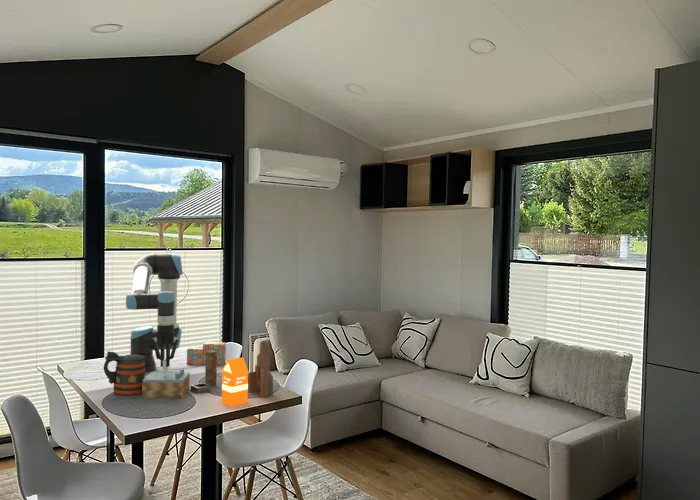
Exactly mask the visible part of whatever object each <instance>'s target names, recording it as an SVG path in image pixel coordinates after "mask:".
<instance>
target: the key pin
mask: <svg viewBox="0 0 700 500" xmlns="http://www.w3.org/2000/svg"><path fill="white" fill-rule="evenodd" d="M217 366H218V365H217V352H216V351H214V350H212V351H206V365H205V371H204V372H205V376H204V377H205V379H204V380H205V382H204V383H206V384H208V385H211V387H213V386H217V376H218V375H217V372H218V371H217V369H218V367H217Z"/></svg>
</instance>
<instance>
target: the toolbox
mask: <svg viewBox="0 0 700 500" xmlns="http://www.w3.org/2000/svg"><path fill="white" fill-rule="evenodd" d="M189 390H190V375H189V376H188V377H187V378H186V379H185V380H184V382H183V383H150V382H143V383H142V393H141V395H142V396H141V397H142V398H143V399H146V398H147V399H152V398H153V399H159V398H160V399H183V398H184V396H185V395H186V393H188V391H189ZM166 397H167V398H166Z"/></svg>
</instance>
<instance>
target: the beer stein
mask: <svg viewBox="0 0 700 500" xmlns="http://www.w3.org/2000/svg"><path fill="white" fill-rule="evenodd" d="M145 357H146V355H143V356H142V355H136V354H124V355H119V354H118V353H117V352H115V351H110V350H108V351H107V354H106V356H105V362H104V364H103V371H104V374H105V375H106V377H107V379H108V383H110V385H112V384H113V393H114V394H116V395H118V396H120V395H121V396H130V395H131V396H133V395H138V394H139V393H140V394H142V383H143V379H144V378H146V372H145V362H144V361H145ZM111 362H116V363H115V365H116V366H115V370H114V371H112V370H110V369H109V363H111Z"/></svg>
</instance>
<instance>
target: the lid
mask: <svg viewBox="0 0 700 500" xmlns="http://www.w3.org/2000/svg"><path fill="white" fill-rule="evenodd" d="M190 374H191V373H190V372H189V371H187V372H185V368H183V367H182V368H180V369H178V370H177V371H176V372H174V371H170V372H169V371H167V374H163V371H162V372H161V371H160V372H159V371H151V372H150V373H149V374H148V375H147V376H145V378H144V379H143V382H150V383H183V382H184V380H185V379H186V378H187V377H188V376H189V377H190Z"/></svg>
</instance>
